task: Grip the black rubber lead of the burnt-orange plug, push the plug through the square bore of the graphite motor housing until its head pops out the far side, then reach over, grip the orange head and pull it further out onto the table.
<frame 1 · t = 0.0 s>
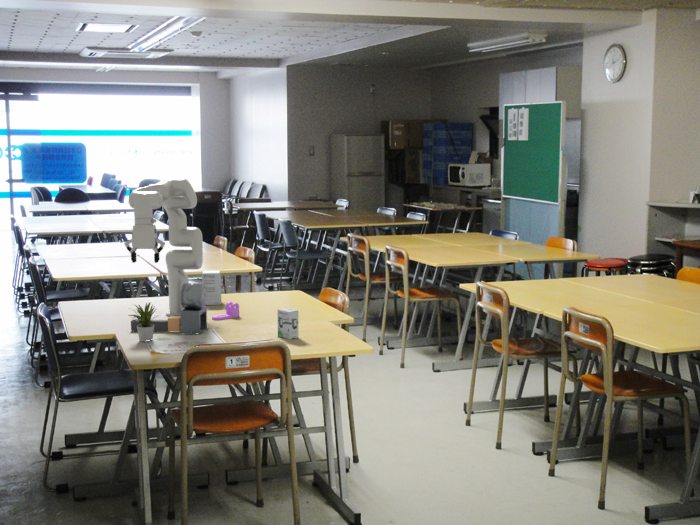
hand: (145, 262, 331), 31 cm above the table, fingers open, 9 cm apart
house plant: (145, 340, 325), on the table
bracket: (224, 318, 371), on the table
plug: (175, 330, 342), on the table
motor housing: (194, 330, 342), on the table
supplement box: (212, 303, 410), on the table
ink box: (288, 337, 328), on the table
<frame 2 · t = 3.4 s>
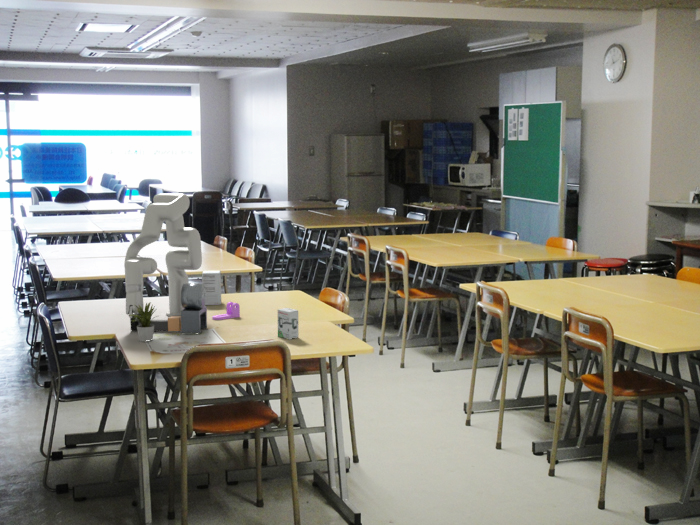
hand: (136, 328, 344), 1 cm above the table, fingers closed on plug, 3 cm apart
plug: (175, 330, 342), on the table, touching gripper
everything else where it was.
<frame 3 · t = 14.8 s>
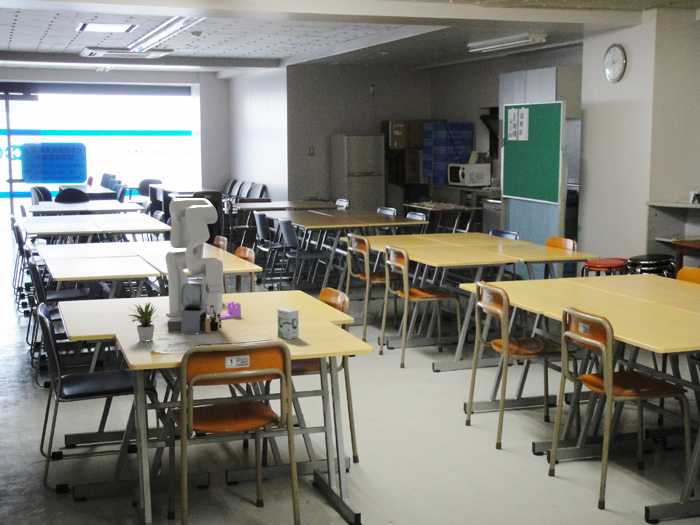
hand: (215, 329, 341), 1 cm above the table, fingers closed on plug, 5 cm apart
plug: (212, 331, 341), on the table, touching gripper
everything else where it was.
when the fingers open (1 cm above the table, at t = 17.5 s): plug stays where it is, on the table.
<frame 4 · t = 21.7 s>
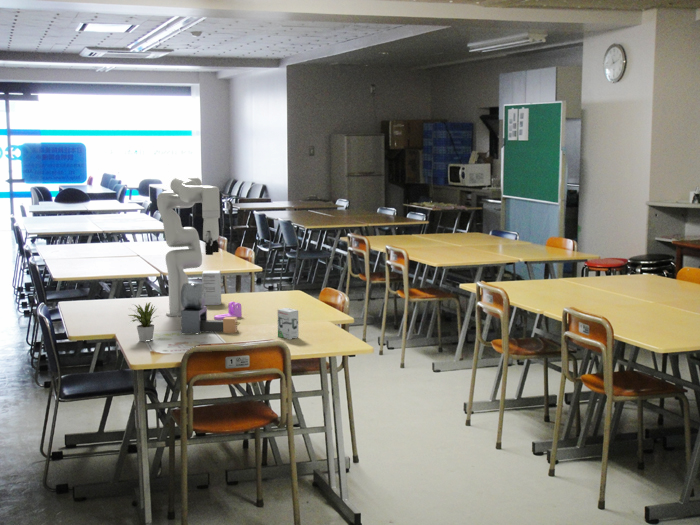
hand: (212, 253, 344), 33 cm above the table, fingers open, 9 cm apart
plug: (230, 331, 340), on the table
at the end: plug 0.0 cm from the target spot on the table beside the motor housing, on the table; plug moved 24.5 cm from its start; the gripper is holding nothing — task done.
